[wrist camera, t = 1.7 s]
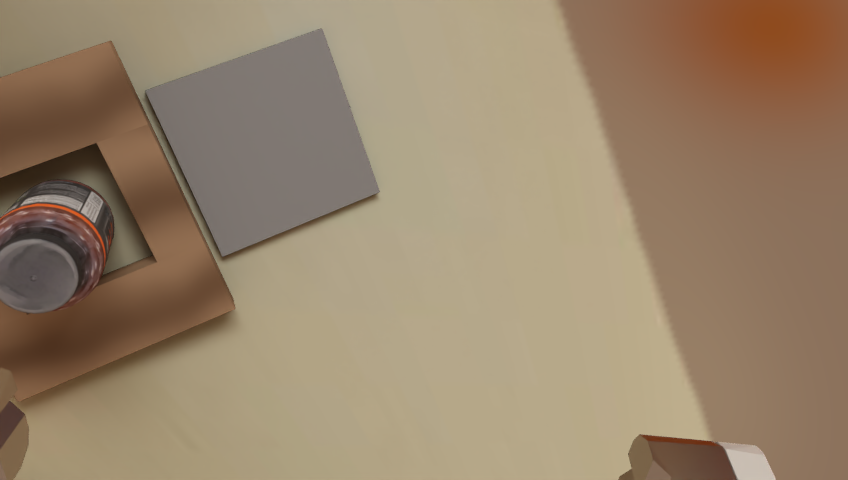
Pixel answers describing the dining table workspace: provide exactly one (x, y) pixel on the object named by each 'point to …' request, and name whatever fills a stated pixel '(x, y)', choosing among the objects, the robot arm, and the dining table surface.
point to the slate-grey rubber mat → (266, 140)
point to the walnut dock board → (148, 201)
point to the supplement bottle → (53, 246)
